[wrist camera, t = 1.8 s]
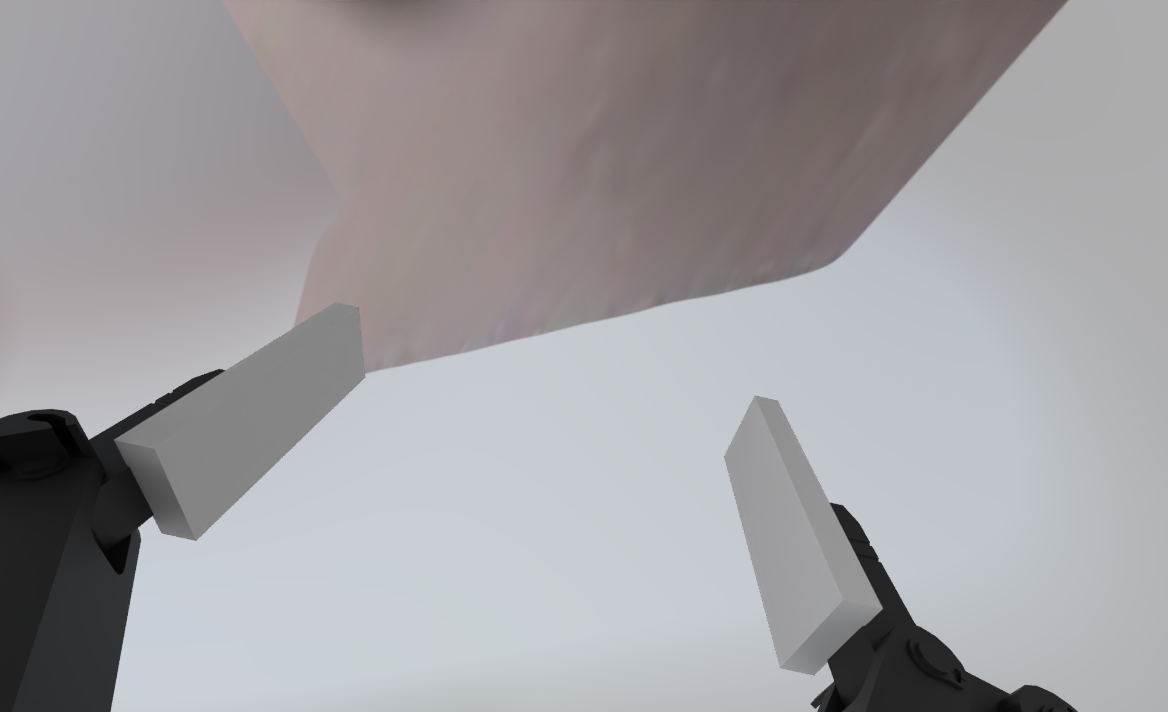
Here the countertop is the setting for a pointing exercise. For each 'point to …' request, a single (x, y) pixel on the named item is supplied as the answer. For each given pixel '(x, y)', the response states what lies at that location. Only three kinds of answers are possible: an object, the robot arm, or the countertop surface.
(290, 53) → the countertop surface
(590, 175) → the countertop surface
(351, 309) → the robot arm
